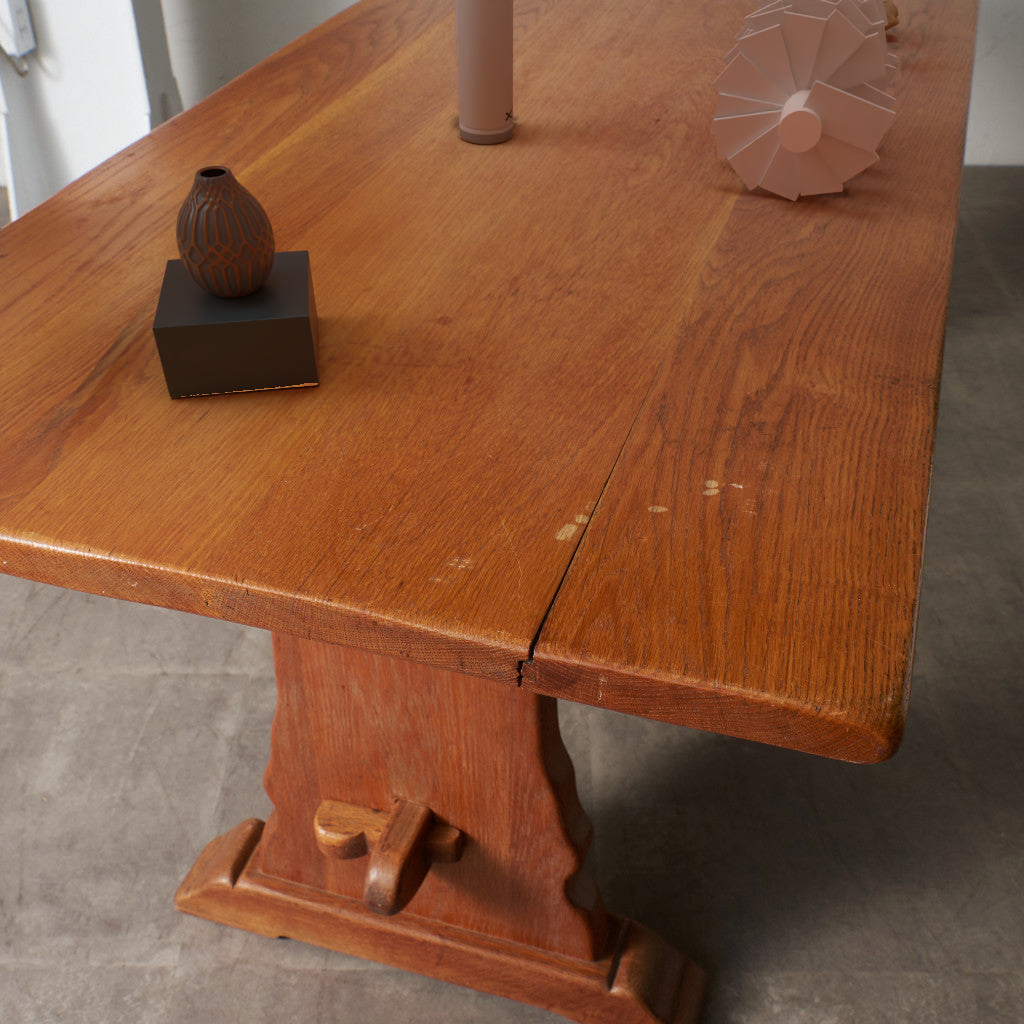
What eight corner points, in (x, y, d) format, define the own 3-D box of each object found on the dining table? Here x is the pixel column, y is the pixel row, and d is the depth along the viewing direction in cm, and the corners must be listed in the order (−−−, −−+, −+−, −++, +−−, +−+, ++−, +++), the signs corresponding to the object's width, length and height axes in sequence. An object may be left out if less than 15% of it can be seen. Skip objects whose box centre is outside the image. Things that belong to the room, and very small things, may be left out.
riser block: (170, 399, 75) (151, 327, 71) (183, 326, 83) (167, 259, 80) (319, 386, 76) (309, 315, 73) (317, 316, 85) (308, 249, 81)
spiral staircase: (735, 241, 105) (757, 145, 123) (913, 187, 97) (909, 93, 114) (675, 72, 96) (708, -5, 113) (867, -4, 87) (870, -75, 105)
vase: (282, 303, 74) (263, 186, 68) (185, 312, 73) (158, 194, 67) (279, 261, 79) (262, 150, 74) (189, 269, 78) (164, 157, 73)
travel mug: (524, 139, 117) (526, -56, 104) (472, 148, 115) (467, -50, 102) (501, 122, 121) (500, -66, 108) (451, 131, 119) (444, -61, 106)
